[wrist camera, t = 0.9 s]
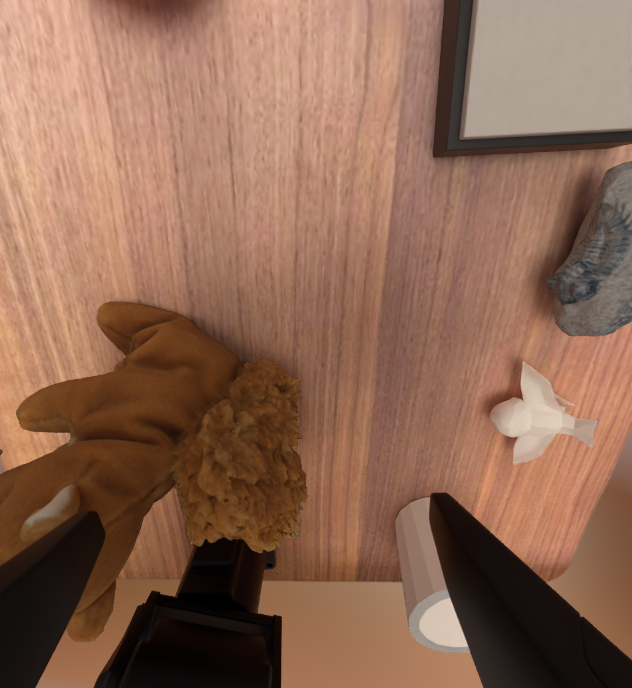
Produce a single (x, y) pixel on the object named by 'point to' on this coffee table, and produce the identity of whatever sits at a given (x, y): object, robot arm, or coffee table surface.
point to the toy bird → (538, 418)
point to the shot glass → (425, 582)
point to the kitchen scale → (534, 76)
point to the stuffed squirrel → (159, 450)
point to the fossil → (599, 263)
